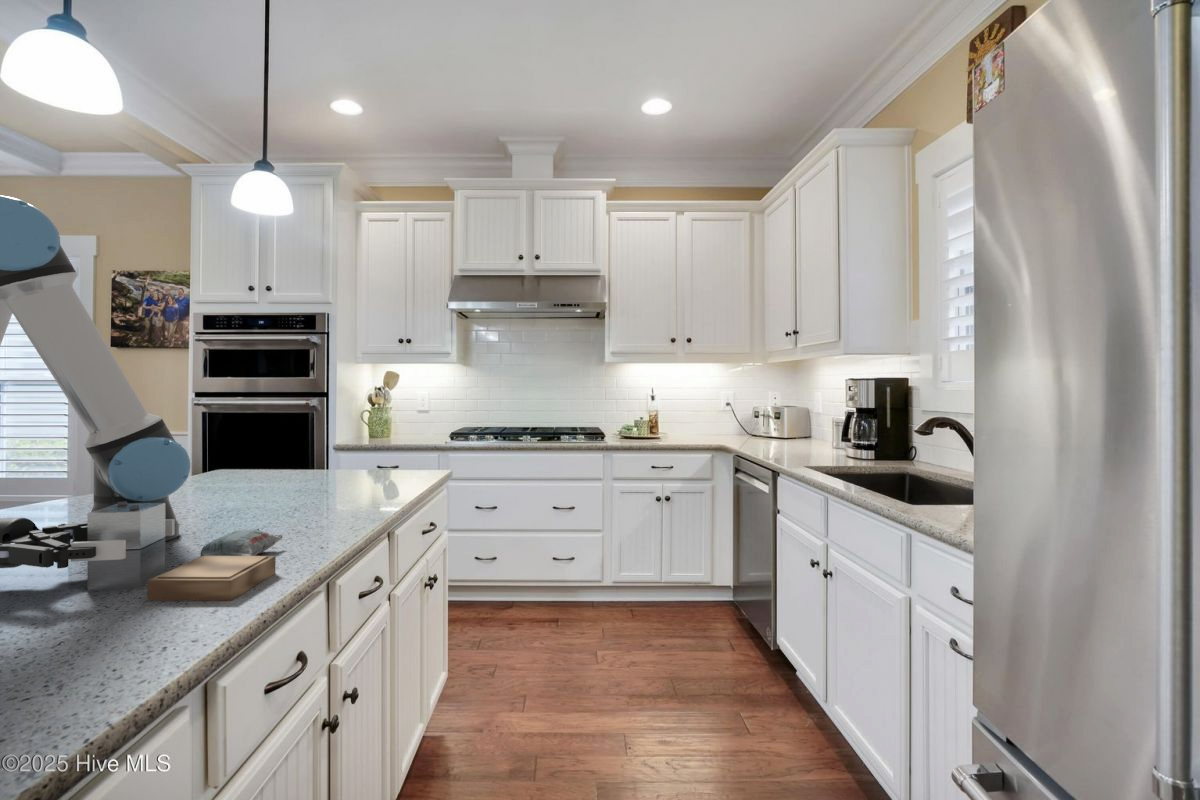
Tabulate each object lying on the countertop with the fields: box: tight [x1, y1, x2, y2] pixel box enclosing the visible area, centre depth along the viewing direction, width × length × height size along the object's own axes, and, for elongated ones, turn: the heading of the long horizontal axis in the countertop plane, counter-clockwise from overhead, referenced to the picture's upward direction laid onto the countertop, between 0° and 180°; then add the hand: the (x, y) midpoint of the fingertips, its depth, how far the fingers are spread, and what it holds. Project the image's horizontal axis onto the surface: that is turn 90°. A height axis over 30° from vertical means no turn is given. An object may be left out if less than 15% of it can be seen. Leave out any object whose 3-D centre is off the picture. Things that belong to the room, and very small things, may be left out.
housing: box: [87, 501, 166, 592], centre depth 88 cm, size 7×7×13 cm
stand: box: [146, 555, 277, 602], centre depth 87 cm, size 12×12×3 cm
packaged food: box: [199, 528, 283, 557], centre depth 102 cm, size 9×12×5 cm
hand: (150, 537), depth 89 cm, fingers open, 13 cm apart
